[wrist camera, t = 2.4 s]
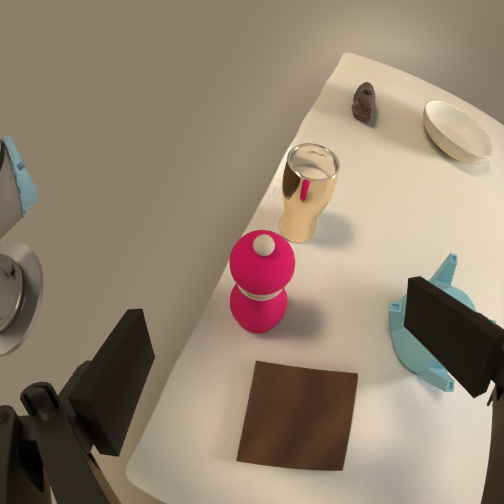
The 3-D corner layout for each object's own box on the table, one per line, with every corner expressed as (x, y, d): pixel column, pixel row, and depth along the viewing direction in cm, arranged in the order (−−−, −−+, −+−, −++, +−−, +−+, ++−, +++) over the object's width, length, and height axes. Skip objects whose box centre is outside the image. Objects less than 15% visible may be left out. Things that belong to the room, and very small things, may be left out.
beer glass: (306, 253, 46) (327, 191, 33) (268, 231, 48) (274, 164, 35) (326, 222, 49) (349, 158, 36) (290, 202, 51) (302, 135, 38)
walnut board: (236, 459, 32) (236, 460, 31) (255, 361, 39) (256, 360, 38) (340, 469, 31) (342, 470, 30) (355, 374, 38) (358, 373, 37)
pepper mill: (250, 278, 44) (251, 190, 27) (292, 304, 42) (324, 229, 25) (221, 318, 41) (200, 250, 24) (265, 346, 40) (279, 299, 22)
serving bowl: (486, 187, 55) (500, 170, 49) (416, 153, 58) (428, 131, 52) (475, 138, 64) (484, 122, 58) (414, 108, 68) (422, 90, 62)
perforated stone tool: (355, 92, 69) (360, 72, 63) (373, 99, 68) (380, 78, 62) (346, 121, 62) (353, 97, 56) (368, 128, 61) (376, 105, 55)
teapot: (413, 402, 35) (456, 398, 26) (363, 322, 41) (394, 297, 32) (471, 343, 39) (513, 325, 29) (427, 273, 45) (461, 242, 35)
